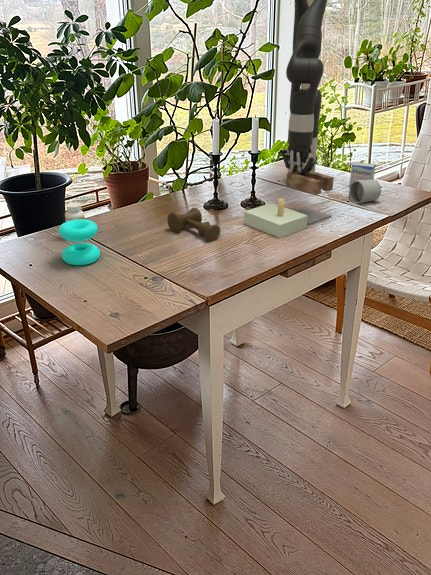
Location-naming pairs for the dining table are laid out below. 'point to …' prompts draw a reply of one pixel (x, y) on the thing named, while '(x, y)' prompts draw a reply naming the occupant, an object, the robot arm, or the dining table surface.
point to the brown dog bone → (193, 224)
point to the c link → (310, 182)
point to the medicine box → (362, 172)
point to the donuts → (79, 251)
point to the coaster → (313, 215)
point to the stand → (275, 219)
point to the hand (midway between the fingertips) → (297, 183)
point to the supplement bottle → (74, 212)
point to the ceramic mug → (364, 191)
